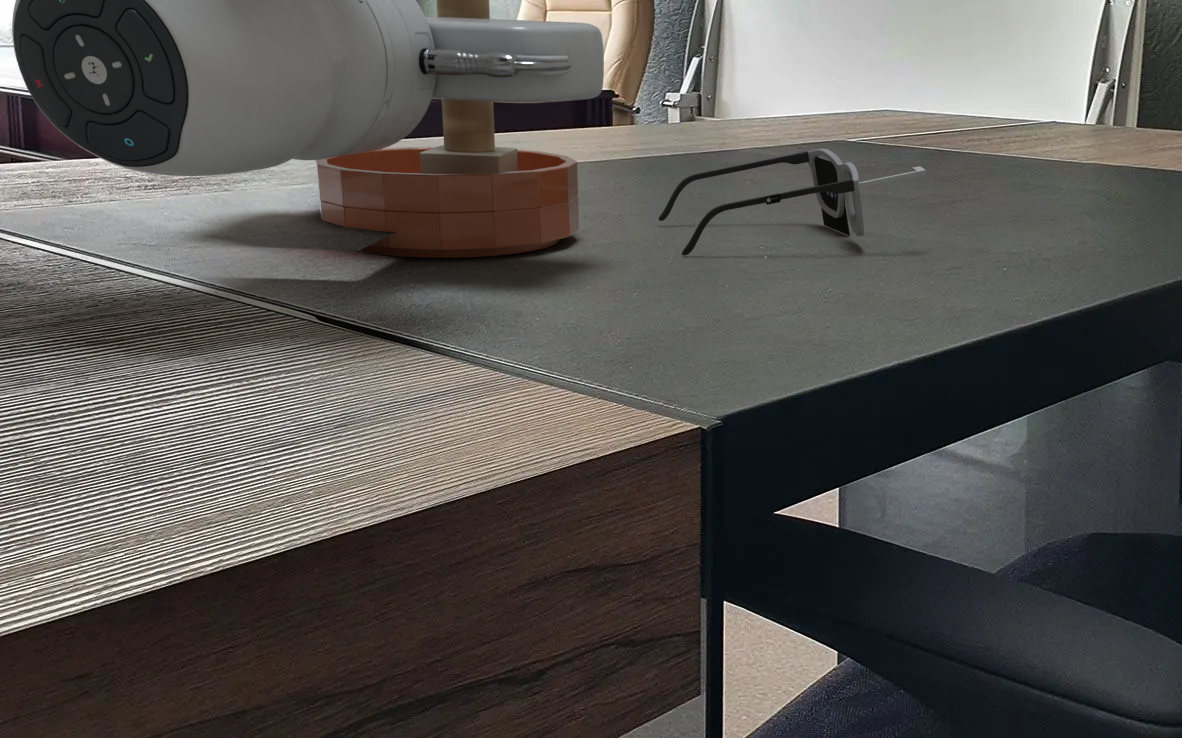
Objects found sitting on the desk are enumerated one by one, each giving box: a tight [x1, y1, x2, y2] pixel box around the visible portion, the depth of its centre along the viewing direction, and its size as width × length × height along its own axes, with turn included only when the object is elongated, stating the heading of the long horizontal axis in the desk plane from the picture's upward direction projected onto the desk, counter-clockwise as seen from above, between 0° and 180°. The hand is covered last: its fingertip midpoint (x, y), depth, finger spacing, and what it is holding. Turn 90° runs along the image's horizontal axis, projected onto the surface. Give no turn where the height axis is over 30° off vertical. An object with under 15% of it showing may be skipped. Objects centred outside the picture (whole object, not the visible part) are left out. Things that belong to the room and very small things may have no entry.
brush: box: [420, 0, 518, 174], centre depth 77 cm, size 4×4×15 cm
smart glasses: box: [658, 148, 927, 256], centre depth 83 cm, size 12×14×5 cm
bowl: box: [314, 146, 580, 259], centre depth 79 cm, size 14×14×4 cm
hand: (472, 50), depth 77 cm, fingers closed on brush, 3 cm apart
